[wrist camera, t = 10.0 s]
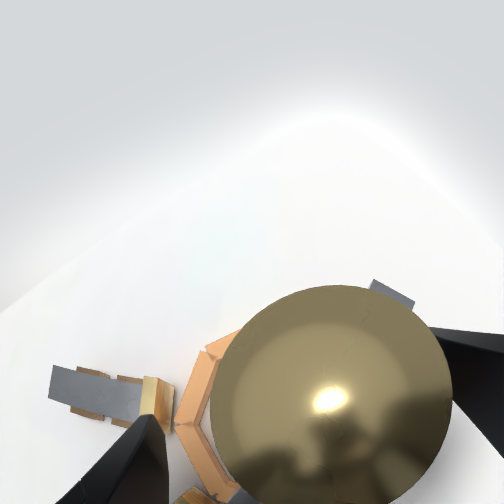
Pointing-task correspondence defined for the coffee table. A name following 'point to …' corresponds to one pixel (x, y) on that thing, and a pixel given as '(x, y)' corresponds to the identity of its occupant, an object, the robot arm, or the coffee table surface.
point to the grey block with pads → (112, 396)
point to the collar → (191, 417)
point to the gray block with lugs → (194, 497)
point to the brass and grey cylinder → (331, 399)
